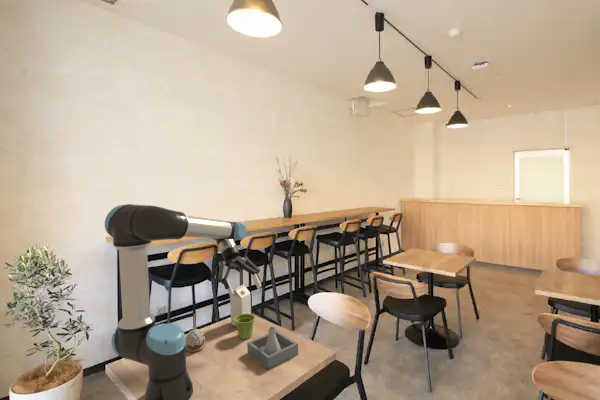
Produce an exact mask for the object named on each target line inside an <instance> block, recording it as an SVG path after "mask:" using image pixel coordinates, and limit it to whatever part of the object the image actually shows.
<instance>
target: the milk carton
mask: <svg viewBox="0 0 600 400" xmlns="http://www.w3.org/2000/svg"><path fill="white" fill-rule="evenodd" d="M245 285H246V284H245V283H243V284H241V285H240V286H238V287H236V288H235V289H234V290H235V291H233V292H234V294H233V296H232V297H230V296H229V299H230V301H229V302H230V325H232V326H235V327H237V325H236V322H235V321H234V318H235V317H236V316H238V315H240V314H252V304H251V303H252V301H251V300H252V299H251V297H252V296H251V292H250V290H249V289H248V288H247V287H246V286H245Z"/></svg>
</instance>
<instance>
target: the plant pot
mask: <svg viewBox="0 0 600 400" xmlns="http://www.w3.org/2000/svg"><path fill="white" fill-rule="evenodd" d="M255 320H256V316H255V315H254V314H252V313H251V314H240V315H238V316H236V317H235V318H234V321H235V322H236V325H237V326H236V329H237V334H238V335H237V336H238V339H241V340H249V339H250V338H251V337H253V332H254V331H253V329H254V322H255Z"/></svg>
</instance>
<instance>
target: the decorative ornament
mask: <svg viewBox="0 0 600 400" xmlns="http://www.w3.org/2000/svg"><path fill="white" fill-rule="evenodd" d="M192 317H193V329H191V330H190V331H189V332H188V333H187V334H186V337H185V340H186V341H185V342H186V352H199V351H201V350H203V349H204V348H205V347H206V342H205V341H206V337H205V333H204V332H203V330H201V329H198V328H197V326H196V325H197V324H196V314H195V313H193V315H192Z"/></svg>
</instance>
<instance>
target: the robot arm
mask: <svg viewBox="0 0 600 400" xmlns="http://www.w3.org/2000/svg"><path fill="white" fill-rule="evenodd" d="M104 229H105V232H106V233H107V234H108V235H109V236H111V238H112V243H113V245H112V246H113V247H114V248H115V249H116V250H117V251H118V257H119V258H118V259H119V277H120V278H119V279H120V295H121V297H120V298H121V311H122V312H121V313H122V314H121V315H122V318H121V319H120V320H119V321H118V323H117V327H116V328H115V330H114V333H113V334H112V335H111V336H112V337H111V347H112V350H113V352H114V353H115V354H116V355H118V356H119V357H121V358H123V359H125V360H131V361H134V362H136V363H140V364H142V365H146V366H147V367H148V377H149V378H148V382H147V384H146V385H147V386H146V389H145V393H144V398H143V399H144V400H191V398H192V395H193V393H194V387H193V385H194V384H193V381H192V378H191V376H190V375H189V372H188V370H187V349H186V346H187V345H186V337H185V332H184V329H183V328H182V327H181V326H180V325H178V324H175V323H171V322H167V323H160V324H157V325H156V317H155V315H154V314H153V313H151V307H150V305H151V304H150V303H151V302H150V286H149V285H150V283H149V265H148V260H149V259H148V246H150V245H151V244H152V242H154V241H165V240H166V241H167V240H181V239H183V238H197V239H198V238H199V239H211V240H214V241H215V242H216V244H217V247H218V248H219V252H220V253H221V256H222V258H223V260H219V262H218V267H219V268H218V277H217V284H221V285H223V286H224V289H225V290H227V292H228V295H229V298H230V297H232V296H233V294H234V292H235V291H234V289H233V287H232V285H231V282H230V279H228V277H229V274H230V272H231V270H237V269H240V270H244V271H246V272H247V273H249V274H250V275H252V279H253V281H254V284H255V286H256V288H257V290H260V289H261V287H262V283H261V281H260V280H261V278H260V276H259V273H260V272H261V269H260V268H259V266H257V265H256V264H255V263H254V262H253V261H251V260H250V259H249V257H248V256H247V255H245V256H244V257H242V256H241V255H240V252H239V249H238V247H237V244H236V242H235V241H241V240H244V239H245V237H246V234H247V227H246V224H245V223H243V222H239V221H237V222H236V221H229V220H221V219H214V218H207V217H199V216H194V215H193V216H191V215H187V214H186V213H184V212H182V211H176V210H172V209H168V208H165V207H161V206H157V205H146V204H130V203H128V204H127V203H126V204H120V205H117V206H115V207H113V208H111V210H110V211H109V212H108V213H107V215H106V217H105V220H104ZM225 266H226V267H227V269H226V272H225V274H224V269H225ZM223 274H224V275H223Z"/></svg>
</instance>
